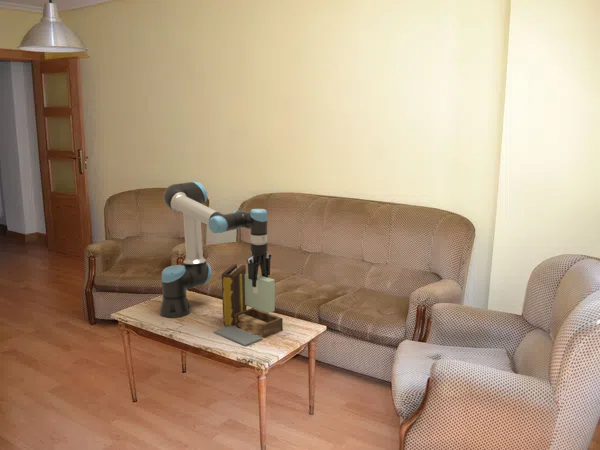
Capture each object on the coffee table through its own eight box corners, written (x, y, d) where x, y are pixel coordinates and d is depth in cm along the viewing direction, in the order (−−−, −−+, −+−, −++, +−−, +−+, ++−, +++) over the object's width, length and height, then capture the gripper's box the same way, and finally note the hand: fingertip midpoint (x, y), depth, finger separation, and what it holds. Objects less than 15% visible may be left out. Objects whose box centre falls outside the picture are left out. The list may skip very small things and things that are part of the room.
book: (236, 326, 251) (235, 276, 246) (219, 325, 253) (218, 274, 248) (250, 310, 272) (249, 263, 267) (234, 309, 274) (233, 262, 269)
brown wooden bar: (238, 326, 251) (238, 315, 250) (243, 324, 254) (243, 313, 253) (262, 336, 240) (262, 325, 239) (268, 334, 243) (268, 322, 241)
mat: (213, 332, 244) (213, 331, 244) (230, 326, 251) (230, 325, 251) (245, 346, 229) (245, 344, 229) (262, 339, 237) (262, 338, 236)
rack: (234, 325, 252) (234, 313, 251) (253, 319, 260) (252, 307, 259) (264, 337, 238) (264, 325, 237) (282, 330, 247) (282, 318, 246)
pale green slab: (245, 304, 253) (244, 274, 249) (251, 302, 255) (251, 272, 252) (268, 313, 242) (268, 281, 239) (274, 311, 245) (274, 279, 242)
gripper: (250, 247, 234) (251, 298, 238) (278, 241, 246) (278, 289, 251) (239, 244, 239) (240, 294, 243) (267, 238, 251) (267, 286, 256)
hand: (259, 291), depth 247 cm, fingers closed on pale green slab, 4 cm apart
